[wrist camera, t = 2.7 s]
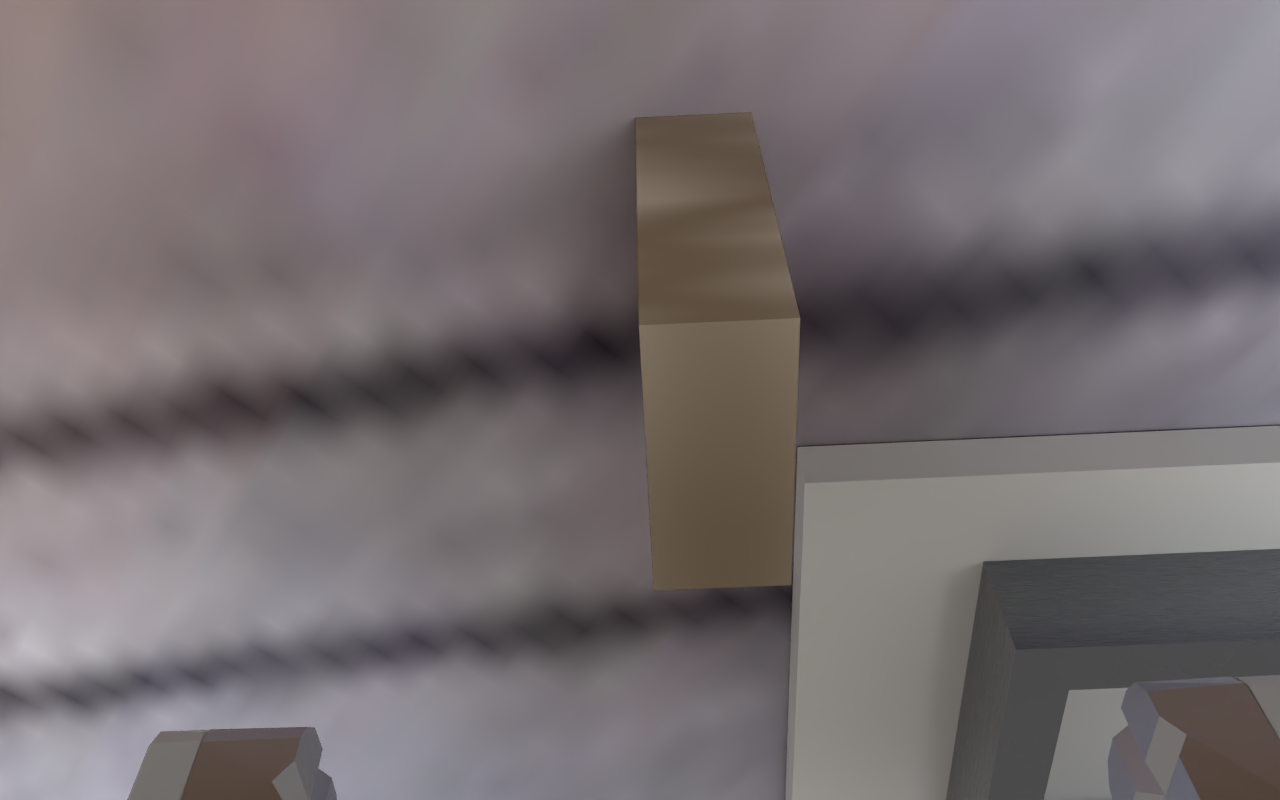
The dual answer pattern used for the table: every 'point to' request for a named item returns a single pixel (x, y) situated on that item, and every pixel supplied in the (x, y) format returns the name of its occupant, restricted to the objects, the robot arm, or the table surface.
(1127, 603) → the frame
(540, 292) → the table surface
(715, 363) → the wooden block
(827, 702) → the plate
